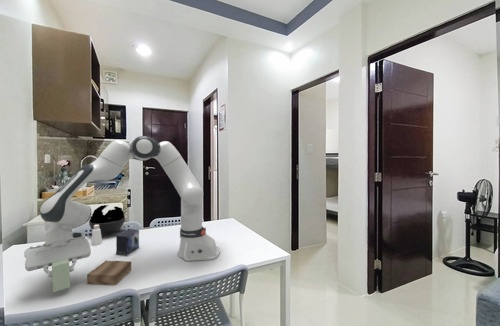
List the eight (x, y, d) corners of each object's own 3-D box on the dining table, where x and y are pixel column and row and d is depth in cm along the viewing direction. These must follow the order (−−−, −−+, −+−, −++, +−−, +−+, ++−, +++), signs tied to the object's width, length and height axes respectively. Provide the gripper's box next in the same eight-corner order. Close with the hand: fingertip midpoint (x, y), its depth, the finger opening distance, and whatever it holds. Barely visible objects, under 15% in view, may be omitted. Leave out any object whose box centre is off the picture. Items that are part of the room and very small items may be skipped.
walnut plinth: (131, 269, 109) (131, 261, 108) (115, 284, 97) (115, 275, 96) (105, 268, 109) (105, 260, 109) (87, 283, 97) (87, 274, 97)
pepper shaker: (88, 244, 135) (88, 225, 134) (98, 241, 140) (97, 223, 139) (95, 246, 133) (95, 227, 132) (104, 242, 138) (104, 224, 137)
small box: (126, 256, 122) (126, 236, 121) (115, 254, 123) (115, 235, 123) (139, 247, 132) (139, 229, 132) (129, 246, 134) (129, 228, 133)
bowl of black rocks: (85, 234, 150) (84, 205, 149) (118, 226, 165) (118, 200, 164) (95, 242, 137) (94, 211, 136) (130, 233, 152) (130, 205, 151)
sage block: (69, 281, 94) (68, 257, 94) (69, 287, 91) (69, 262, 90) (53, 286, 91) (52, 261, 91) (53, 292, 87) (52, 266, 87)
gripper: (23, 244, 88) (22, 280, 82) (89, 232, 102) (92, 262, 95) (25, 251, 92) (24, 286, 85) (88, 238, 105) (91, 268, 98)
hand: (61, 273), depth 90 cm, fingers closed on sage block, 5 cm apart
